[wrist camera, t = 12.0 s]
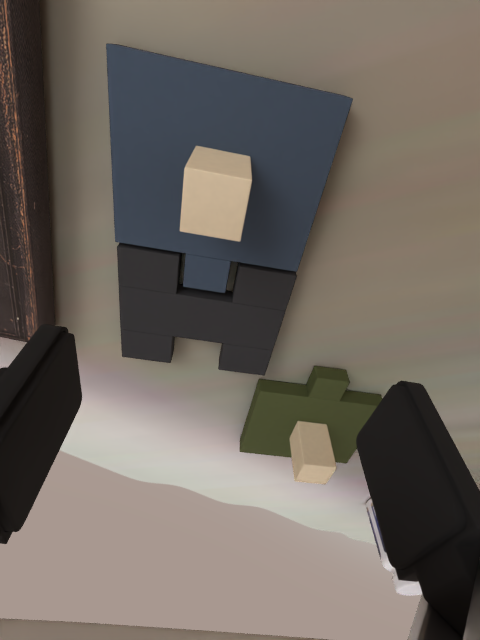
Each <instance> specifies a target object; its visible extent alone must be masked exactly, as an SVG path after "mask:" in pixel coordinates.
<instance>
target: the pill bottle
mask: <svg viewBox="0 0 480 640" xmlns="http://www.w3.org/2000/svg"><path fill="white" fill-rule="evenodd" d="M366 508H367V512H368V516H369V520H370V523H371V527H372V530H373V534H374V537H375V541H376V544H377V548H378V552H379V555H380V559H381V562H382V564H383V566H384V567H385V568H386V569H387V570H388V571H390V572H392V573H393V576H392V579H393V583H394V586H395V589H396V592H397V593H398V594H401V595H420V594H422V590H421V587H420V584H419V581H418V582H413V581H402V580H398V577H397V573H396V570H395V568H393V567H392V566H391V564H390V562H389V560H388V557H387V553H386V550H385V546H384V543H383V539H382V535H381V532H380V528H379V525H378V521H377V517H376V514H375V510H374V507H373V503H372V499H369V500H368V502H367V504H366Z"/></svg>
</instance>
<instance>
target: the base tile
mask: <svg viewBox="0 0 480 640" xmlns="http://www.w3.org/2000/svg"><path fill="white" fill-rule="evenodd" d="M117 255H118V278H119V301H120V324H121V344H122V357H129V358H136V359H144V360H151V361H159V362H166V363H171V360H172V355H173V351H174V339H175V337H182V338H189V339H196V340H203V341H210V342H217V343H222V347H221V352H220V357H219V368H218V369H219V370H226V371H234V372H241V373H249V374H256V375H265V372H266V369H267V366H268V363H269V360H270V357H271V354H272V351H273V348H274V345H275V342H276V339H277V336H278V333H279V330H280V327H281V324H282V320H283V317H284V314H285V310H286V308H287V305H288V302H289V299H290V296H291V293H292V290H293V287H294V283H295V280H296V277H297V275H296V272H295V271H289V270H283V269H277V268H271V267H265V266H259V265H253V264H247V263H241V262H238V267H237V272H236V277H235V282H234V287H233V292H230V291H225V293H221V292H214V291H208V290H201V289H195V288H189V287H183V284H179V281H180V269H181V257H182V253H180V252H174V251H168V250H162V249H156V248H150V247H144V246H138V245H132V244H126V243H119V245H118V246H117Z"/></svg>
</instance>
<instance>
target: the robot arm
mask: <svg viewBox="0 0 480 640" xmlns="http://www.w3.org/2000/svg"><path fill="white" fill-rule="evenodd" d="M81 401H82V392H81V384H80V376H79V369H78V361H77V353H76V345H75V338H74V335H73V334H71V333H68V329H67V328H66V327H61V326H55V325H48V324H42V325H41V326H40V327H39V328H38V329H37V331H36V332H35V333H34V334H33V336H32V337H31V338H30V340H29V341H28V342H27V344H26V345H25V346H24V347H23V349H22V350H21V351H20V353H19V354H18V355H17V357H16V358H15V359H14V360H13V362H12V363H11V364H10V366H9V367H8V368H7V367H6V368H1V369H0V543H2V544H7V542H8V540H9V538H10V536H11V534H12V532H17V531H19V530H20V529H21V527H22V526H23V524H24V522H25V520H26V518H27V516H28V514H29V512H30V510H31V508H32V506H33V504H34V502H35V499H36V497H37V495H38V493H39V491H40V489H41V487H42V485H43V483H44V481H45V479H46V477H47V475H48V472H49V470H50V468H51V466H52V464H53V462H54V460H55V458H56V455H57V454H58V452H59V450H60V447H61V445H62V443H63V441H64V439H65V437H66V435H67V433H68V431H69V429H70V427H71V424H72V422H73V420H74V418H75V416H76V414H77V412H78V410H79V408H80V405H81ZM356 445H357V449H358V453H359V456H360V460H361V464H362V467H363V471H364V474H365V478H366V482H367V485H368V489H369V492H370V496H371V499H372V503H373V507H374V510H375V514H376V517H377V521H378V525H379V528H380V532H381V535H382V539H383V543H384V546H385V550H386V553H387V557H388V560H389V562H390V564H391V566H392V567H393V568H395V570H396V573H397V577H398V580H402V581H413V582H418V581H419V584H420V587H421V590H422V596H421V599H420V602H419V605H418V608H417V611H416V614H415V617H414V621H413V624H412V627H411V630H410V634H409V636H408V639H407V640H480V491H479V489H478V487H477V485H476V483H475V481H474V479H473V478H472V476H471V474H470V472H469V470H468V468H467V466H466V464H465V463H464V461H463V459H462V457H461V455H460V453H459V451H458V449H457V448H456V446H455V444H454V442H453V440H452V438H451V436H450V434H449V433H448V431H447V429H446V427H445V425H444V423H443V421H442V419H441V418H440V416H439V414H438V412H437V410H436V408H435V406H434V404H433V403H432V401H431V399H430V397H429V395H428V393H427V391H426V389H425V388H424V386H423V385H421V384H419V383H412V382H406V381H400V382H398V383H397V384H396V385H393V386H392V387H391V388H390V389H389V391H388V392H387V394H386V395H385V396H384V398H383V399H382V401H381V402H380V403H379V405H378V406H377V408H376V409H375V410H374V412H373V413H372V415H371V416H370V417H369V419H368V420H367V422H366V423H365V425H364V426H363V427H362V429H361V430H360V432H359V433H358V435H357V438H356ZM0 640H327V639H314V638H300V637H284V636H272V635H257V634H243V633H228V632H214V631H201V630H186V629H170V628H155V627H140V626H126V625H111V624H96V623H81V622H80V623H79V622H63V621H42V620H21V619H0Z"/></svg>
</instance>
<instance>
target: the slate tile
mask: <svg viewBox="0 0 480 640" xmlns="http://www.w3.org/2000/svg"><path fill="white" fill-rule="evenodd" d="M106 49H107V71H108V93H109V115H110V137H111V159H112V180H113V202H114V224H115V242H120V243H126V244H132V245H138V246H144V247H150V248H156V249H162V250H168V251H174V252H180V253H186V257H185V268H184V279H183V287H189V288H195V289H201V290H208V291H214V292H221V293H225V291H226V286H227V281H228V275H229V270H230V264H231V261H235V262H241V263H247V264H253V265H259V266H265V267H271V268H277V269H283V270H289V271H295V272H297V270H298V267H299V264H300V261H301V258H302V255H303V252H304V248H305V245H306V242H307V239H308V236H309V233H310V230H311V227H312V224H313V221H314V218H315V215H316V211H317V208H318V205H319V202H320V199H321V196H322V193H323V190H324V187H325V184H326V181H327V178H328V174H329V171H330V168H331V165H332V162H333V159H334V156H335V153H336V150H337V147H338V144H339V141H340V137H341V134H342V131H343V128H344V125H345V122H346V119H347V116H348V113H349V110H350V107H351V104H352V100H353V99H352V98H350V97H347V96H344V95H339V94H335V93H331V92H326V91H322V90H317V89H313V88H308V87H304V86H299V85H295V84H290V83H286V82H282V81H277V80H273V79H268V78H264V77H259V76H255V75H250V74H246V73H242V72H237V71H233V70H228V69H224V68H219V67H215V66H210V65H206V64H202V63H197V62H193V61H188V60H184V59H179V58H175V57H170V56H166V55H162V54H157V53H153V52H148V51H144V50H139V49H135V48H130V47H126V46H122V45H117V44H106Z"/></svg>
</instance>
